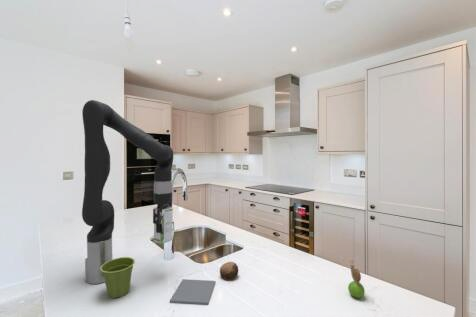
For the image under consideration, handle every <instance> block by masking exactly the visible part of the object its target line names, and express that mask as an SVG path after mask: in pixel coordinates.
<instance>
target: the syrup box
mask: <svg viewBox="0 0 476 317" xmlns="http://www.w3.org/2000/svg"><path fill="white" fill-rule="evenodd" d="M153 209H157V206H156V207H154V208H153ZM173 210H174V208H173V206H172V207H166V209H163V210H162V212H161V211H160V212H161V213H160V216H163V214H164V218H162V232H161V233H157V232H156V224H155V223H153V242H155V243H157V244H160V245H164V244H166V243H169V242H171V241H173V229H174V228H173V215H174V211H173ZM160 219H161V218H160Z"/></svg>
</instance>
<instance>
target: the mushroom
mask: <svg viewBox="0 0 476 317" xmlns="http://www.w3.org/2000/svg"><path fill="white" fill-rule="evenodd" d="M238 274H239V266H238V265H237V263H236V262H234V261H228V262H224V264H222V265H221V266H220V268H219V275H220V276H221V278H223V279H224V280H227V281H232V280H234V279H235V278H237V276H238Z"/></svg>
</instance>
